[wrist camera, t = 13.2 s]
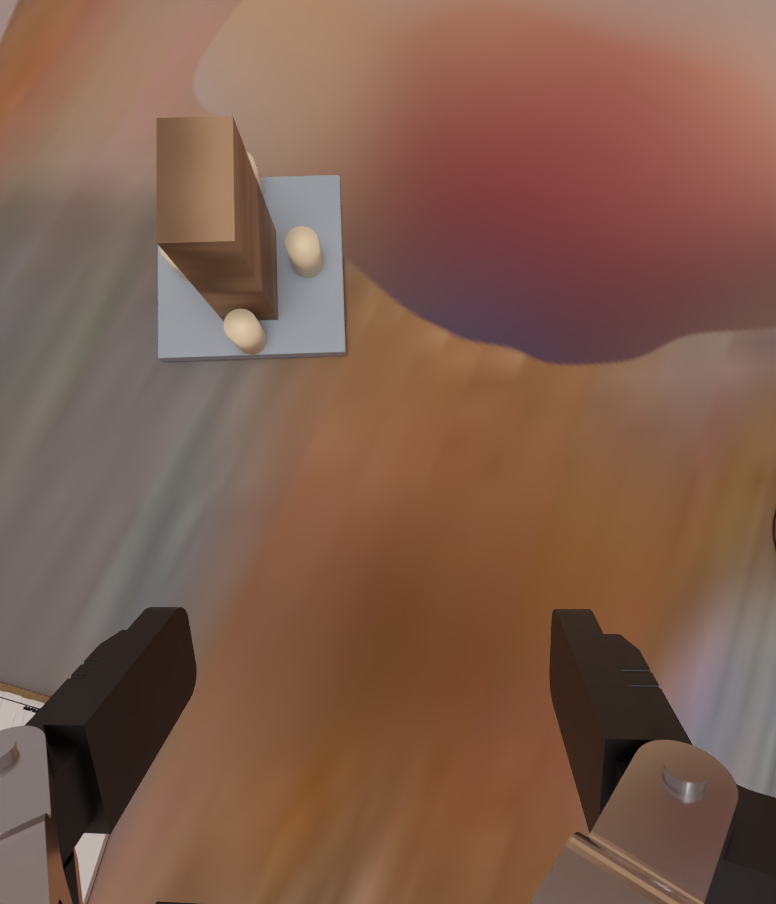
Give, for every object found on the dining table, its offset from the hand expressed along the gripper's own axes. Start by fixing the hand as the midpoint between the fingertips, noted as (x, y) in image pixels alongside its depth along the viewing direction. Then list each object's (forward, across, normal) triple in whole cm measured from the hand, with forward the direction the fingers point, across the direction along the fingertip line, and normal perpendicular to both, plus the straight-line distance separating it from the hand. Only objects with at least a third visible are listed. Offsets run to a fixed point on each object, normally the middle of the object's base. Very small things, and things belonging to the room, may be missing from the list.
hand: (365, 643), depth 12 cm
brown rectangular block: (+27, +10, -8) cm, 30 cm away
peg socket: (+28, +10, -9) cm, 31 cm away
